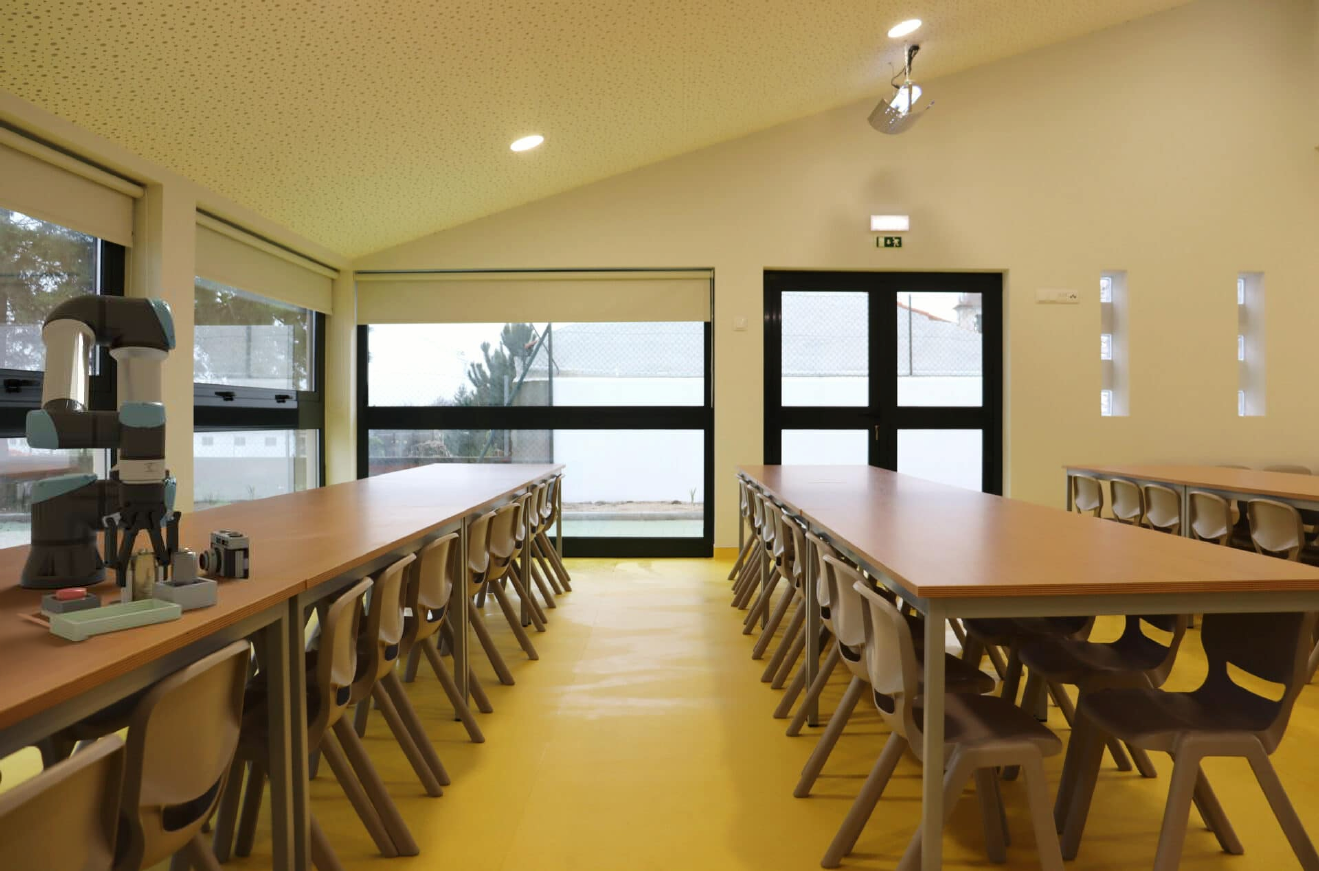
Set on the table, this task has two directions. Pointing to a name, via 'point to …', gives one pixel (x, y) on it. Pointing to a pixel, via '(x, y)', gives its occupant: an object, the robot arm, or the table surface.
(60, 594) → the button
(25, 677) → the table surface
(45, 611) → the button housing
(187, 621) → the table surface
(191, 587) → the bin
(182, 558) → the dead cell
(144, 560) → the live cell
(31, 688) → the table surface
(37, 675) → the table surface
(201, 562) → the camera
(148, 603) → the trough
